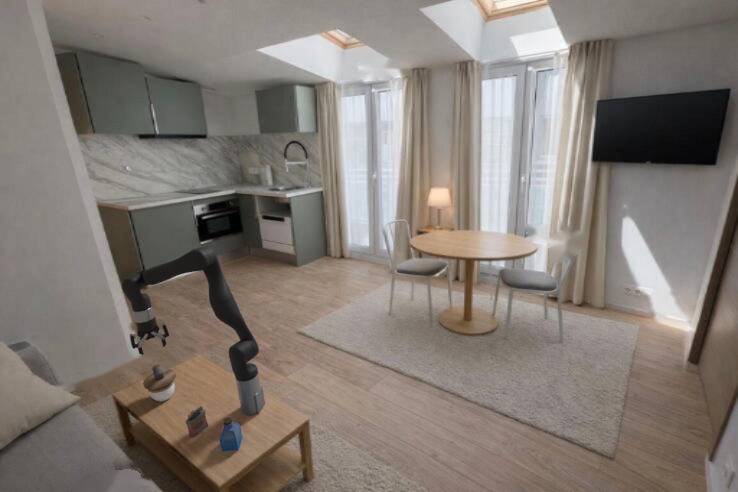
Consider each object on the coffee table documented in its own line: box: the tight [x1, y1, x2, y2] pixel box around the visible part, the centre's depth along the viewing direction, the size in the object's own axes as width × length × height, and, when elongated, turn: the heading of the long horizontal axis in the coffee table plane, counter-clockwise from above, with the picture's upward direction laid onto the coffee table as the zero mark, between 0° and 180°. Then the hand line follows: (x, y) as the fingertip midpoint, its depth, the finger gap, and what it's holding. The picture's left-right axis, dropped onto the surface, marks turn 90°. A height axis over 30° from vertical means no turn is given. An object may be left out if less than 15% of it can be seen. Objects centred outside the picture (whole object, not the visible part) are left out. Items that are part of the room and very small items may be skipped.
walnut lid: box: [142, 364, 177, 390], centre depth 164 cm, size 13×13×7 cm
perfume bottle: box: [218, 416, 243, 453], centre depth 139 cm, size 6×6×12 cm
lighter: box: [185, 405, 209, 439], centre depth 146 cm, size 8×3×10 cm, turn 148°
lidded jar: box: [147, 379, 176, 402], centre depth 166 cm, size 11×11×9 cm
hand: (153, 350), depth 160 cm, fingers open, 8 cm apart
